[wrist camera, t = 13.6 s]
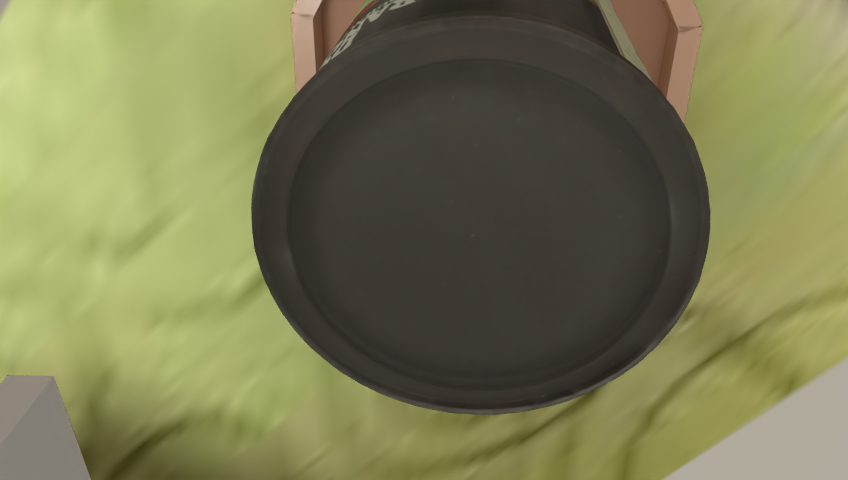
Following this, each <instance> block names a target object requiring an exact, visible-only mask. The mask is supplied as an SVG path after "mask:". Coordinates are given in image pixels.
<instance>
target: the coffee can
mask: <svg viewBox="0 0 848 480" xmlns="http://www.w3.org/2000/svg"><path fill="white" fill-rule="evenodd" d="M251 210H252V232H253V239H254V248H255V252H256V255H257V259H258V262H259V265H260V269H261V271H262V274H263V277H264V280H265V282H266V284H267V286H268V288H269V290H270V293H271V295H272V296H273V298H274V300H275V302H276V303H277V305H278V307H279V309H280V310H281V312H282V314H283V315H284V316H285V318H286V319H287V320H288V322H289V323H290V324H291V326H292V327H293V328H294V330H295V331H296V332H297V333H298V334H299V335H300V337H301V338H302V339H303V340H304V341H305V342H306V343H307V344H308V345H309V346H310V347H311V348H312V349H313V350H314V351H315V352H317V353H318V354H319V355H320V356H321V357H322V358H323V359H325V360H326V361H328V362H329V363H330V364H331V365H332V366H334V367H335V368H336V369H338V370H339V371H340V372H342V373H343V374H345V375H347V376H348V377H350V378H352V379H354V380H355V381H357V382H358V383H360V384H362V385H364V386H366V387H368V388H370V389H372V390H374V391H376V392H378V393H381V394H383V395H386V396H388V397H391V398H393V399H396V400H399V401H402V402H405V403H408V404H412V405H415V406H418V407H423V408H427V409H432V410H438V411H443V412H449V413H460V414H480V415H497V414H507V413H518V412H523V411H529V410H535V409H540V408H544V407H548V406H552V405H556V404H560V403H563V402H566V401H569V400H572V399H574V398H577V397H580V396H582V395H584V394H587V393H589V392H591V391H593V390H595V389H597V388H599V387H601V386H603V385H605V384H607V383H608V382H610V381H612V380H614V379H616V378H617V377H619V376H621V375H622V374H624V373H625V372H626V371H628V370H629V369H631V368H632V367H634V366H635V365H637V364H638V363H639V362H640V361H641V360H643V359H644V358H645V357H646V356H647V355H648V354H649V353H650V352H651V351H653V350H654V349H655V348H656V346H657V345H658V344H659V343H660V342H661V341H662V340H663V339H664V338H665V336H666V335H667V334H668V333H669V332H670V331H671V329H672V328H673V327H674V325H675V324H676V323H677V321H678V320H679V318H680V316H681V315H682V313H683V312H684V310H685V308H686V307H687V305H688V303H689V302H690V300H691V298H692V295H693V293H694V291H695V289H696V287H697V285H698V283H699V280H700V276H701V273H702V269H703V265H704V262H705V258H706V253H707V249H708V242H709V233H710V205H709V195H708V187H707V182H706V177H705V173H704V170H703V167H702V164H701V161H700V158H699V155H698V152H697V149H696V146H695V144H694V141H693V139H692V138H691V136H690V134H689V132H688V131H687V129H686V127H685V125H684V124H683V122H682V120H681V118H680V117H679V115H678V113H677V112H676V110H675V108H674V107H673V106H672V105H671V104H670V102H669V101H668V100H667V99H666V97H665V96H664V95H663V93H662V92H661V91H660V90H659V88H658V87H657V86H656V85H655V84H654V83H653V82H652V80H651V78H650V76H649V74H648V72H647V70H646V68H645V67H644V65H643V63H642V61H641V60H640V58H639V56H638V54H637V52H636V50H635V49H634V47H633V45H632V43H631V42H630V40H629V38H628V36H627V34H626V32H625V30H624V28H623V26H622V24H621V22H620V20H619V18H618V17H617V15H616V13H615V11H614V8H613V6H612V3H611V1H610V0H365V2H364V3H363V5H362V7H361V8H360V10H359V11H358V13H357V14H356V16H355V17H354V19H353V21H352V22H351V24H350V25H349V27H348V28H347V29H346V31H345V32H344V34H343V35H342V36H341V38H340V39H339V41H338V42H337V44H336V46H335V47H334V49H333V50H332V51H331V53H330V55H329V56H328V57H327V58H326V60H325V61H324V63H323V64H322V66H321V68H320V69H319V71H318V72H317V73H316V74H315V75H314V76H313V77H312V78H311V79H310V80H309V81H308V82H307V83H306V84H305V85H304V86H303V87H302V88H301V89H300V91H299V92H298V93H297V94H296V95H295V96H294V98H293V99H292V101H291V102H290V103H289V105H288V106H287V107H286V109H285V110H284V112H283V113H282V114H281V116H280V118H279V119H278V121H277V123H276V125H275V126H274V128H273V130H272V132H271V133H270V135H269V136H268V138H267V141H266V143H265V146H264V149H263V151H262V154H261V157H260V161H259V164H258V168H257V172H256V176H255V180H254V185H253V193H252V207H251Z"/></svg>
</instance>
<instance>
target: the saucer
mask: <svg viewBox="0 0 848 480" xmlns="http://www.w3.org/2000/svg"><path fill="white" fill-rule="evenodd" d="M610 1H611V3H612V6H613V8H614V11H615V13H616V15H617V17H618V18H619V20H620V22H621V24H622V26H623V28H624V30H625V32H626V34H627V36H628V38H629V40H630V42H631V43H632V45H633V47H634V49H635V50H636V52H637V54H638V56H639V58H640V60H641V61H642V63H643V65H644V67H645V68H646V70H647V72H648V74H649V76H650V78H651V80H652V82H653V83H654V84H655V85H656V86H657V87H658V88H659V90H660V91H661V92H662V93H663V95H664V96H665V97H666V99H667V100H668V101H669V102H670V104H671V105H672V106H673V107H674V108H675V110H676V112H677V113H678V115H679V117H680V118H681V120H682V122H683V124H684V120H685V115H686V110H687V105H688V100H689V95H690V90H691V85H692V80H693V75H694V69H695V64H696V59H697V54H698V49H699V44H700V39H701V34H702V29H703V27H702V26H701V25H702V21H701V19H700V16H699V13H698V11H697V8H696V5H695V3H694V0H610ZM364 2H365V0H296V2H295V4H294V6H293V8H292V10H291V11H293V12H292V13H291V26H292V39H293V52H294V65H295V79H296V92H297V93H298V92H299V91H300V89H301V88H302V87H303V86H304V85H305V84H306V83H307V82H308V81H309V80H310V79H311V78H312V77H313V76H314V75H315V74H316V73H317V72H318V71H319V69H320V68H321V66H322V64H323V63H324V61H325V60H326V58H327V57H328V56H329V55H330V53H331V51H332V50H333V49H334V47H335V46H336V44H337V42H338V41H339V39H340V38H341V36H342V35H343V34H344V32H345V31H346V29H347V28H348V27H349V25H350V24H351V22H352V21H353V19H354V17H355V16H356V14H357V13H358V11H359V10H360V8H361V7H362V5H363V3H364Z"/></svg>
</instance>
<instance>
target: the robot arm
mask: <svg viewBox="0 0 848 480" xmlns="http://www.w3.org/2000/svg"><path fill="white" fill-rule="evenodd" d="M0 480H91V478H90V476H89V473H88V470H87V467H86V464H85V462H84V459H83V456H82V453H81V451H80V448H79V445H78V442H77V440H76V437H75V434H74V431H73V429H72V426H71V423H70V420H69V418H68V415H67V412H66V409H65V407H64V404H63V401H62V398H61V395H60V393H59V390H58V387H57V384H56V382H55V379H54V376H14V375H8V376H7V377H6V378H5V379H4V380H3V381H2V383H1V384H0Z"/></svg>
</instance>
